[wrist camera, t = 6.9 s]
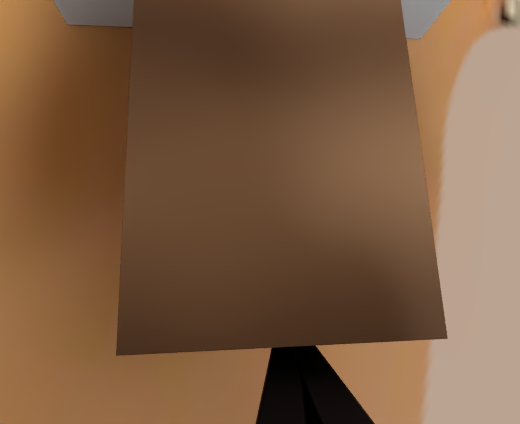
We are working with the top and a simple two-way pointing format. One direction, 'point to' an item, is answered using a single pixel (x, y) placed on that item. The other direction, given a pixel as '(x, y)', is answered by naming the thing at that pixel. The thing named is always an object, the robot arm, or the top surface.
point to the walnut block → (273, 179)
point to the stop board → (121, 3)
